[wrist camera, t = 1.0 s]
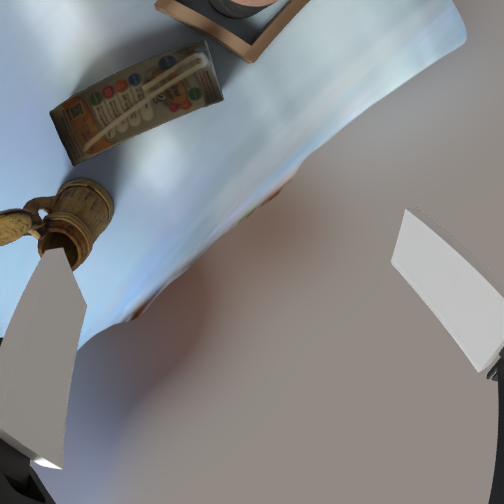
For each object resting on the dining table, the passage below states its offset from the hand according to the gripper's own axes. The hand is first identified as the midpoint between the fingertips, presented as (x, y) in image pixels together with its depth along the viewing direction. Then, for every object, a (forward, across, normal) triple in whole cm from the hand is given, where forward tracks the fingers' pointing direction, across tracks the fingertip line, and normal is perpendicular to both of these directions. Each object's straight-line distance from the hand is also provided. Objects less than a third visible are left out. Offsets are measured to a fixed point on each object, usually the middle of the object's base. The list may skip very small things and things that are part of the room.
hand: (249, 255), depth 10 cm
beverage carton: (+30, -8, +4) cm, 31 cm away
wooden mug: (+30, -19, -8) cm, 36 cm away
